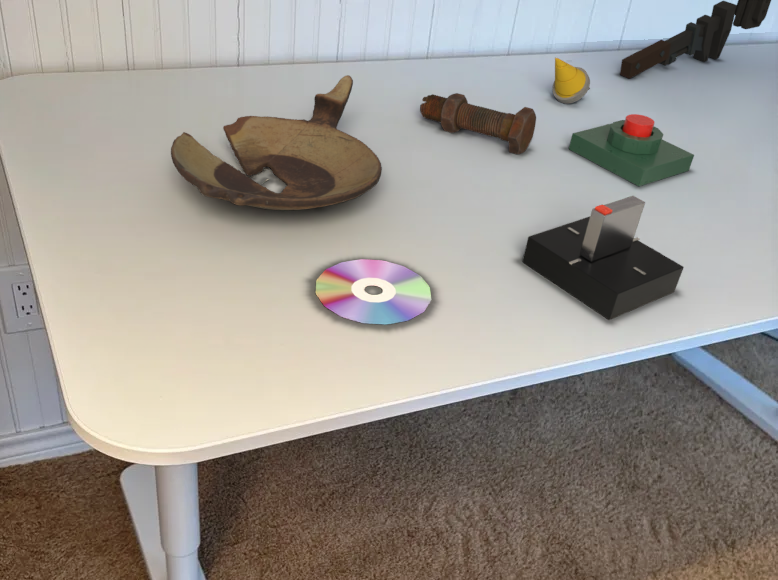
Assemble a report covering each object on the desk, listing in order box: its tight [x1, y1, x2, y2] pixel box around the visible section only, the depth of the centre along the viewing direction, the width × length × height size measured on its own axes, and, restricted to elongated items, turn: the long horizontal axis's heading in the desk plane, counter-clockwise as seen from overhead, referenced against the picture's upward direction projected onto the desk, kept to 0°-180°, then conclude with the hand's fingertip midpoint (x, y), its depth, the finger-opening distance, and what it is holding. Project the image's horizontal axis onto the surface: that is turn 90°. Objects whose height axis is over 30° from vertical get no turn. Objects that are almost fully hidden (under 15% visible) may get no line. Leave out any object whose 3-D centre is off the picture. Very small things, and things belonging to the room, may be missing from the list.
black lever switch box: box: [522, 215, 685, 321], centre depth 84 cm, size 12×10×3 cm
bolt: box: [419, 92, 537, 155], centre depth 108 cm, size 6×5×15 cm
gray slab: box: [580, 195, 646, 262], centre depth 81 cm, size 6×2×5 cm, turn 126°
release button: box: [622, 113, 656, 137], centre depth 105 cm, size 4×4×2 cm
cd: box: [315, 258, 432, 325], centre depth 79 cm, size 11×11×1 cm
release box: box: [568, 119, 695, 187], centre depth 107 cm, size 12×10×4 cm
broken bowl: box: [170, 74, 383, 211], centre depth 92 cm, size 22×30×8 cm
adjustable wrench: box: [619, 0, 737, 80], centre depth 137 cm, size 8×3×25 cm
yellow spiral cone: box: [551, 57, 591, 105], centre depth 119 cm, size 5×5×10 cm
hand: (746, 25), depth 94 cm, fingers closed
